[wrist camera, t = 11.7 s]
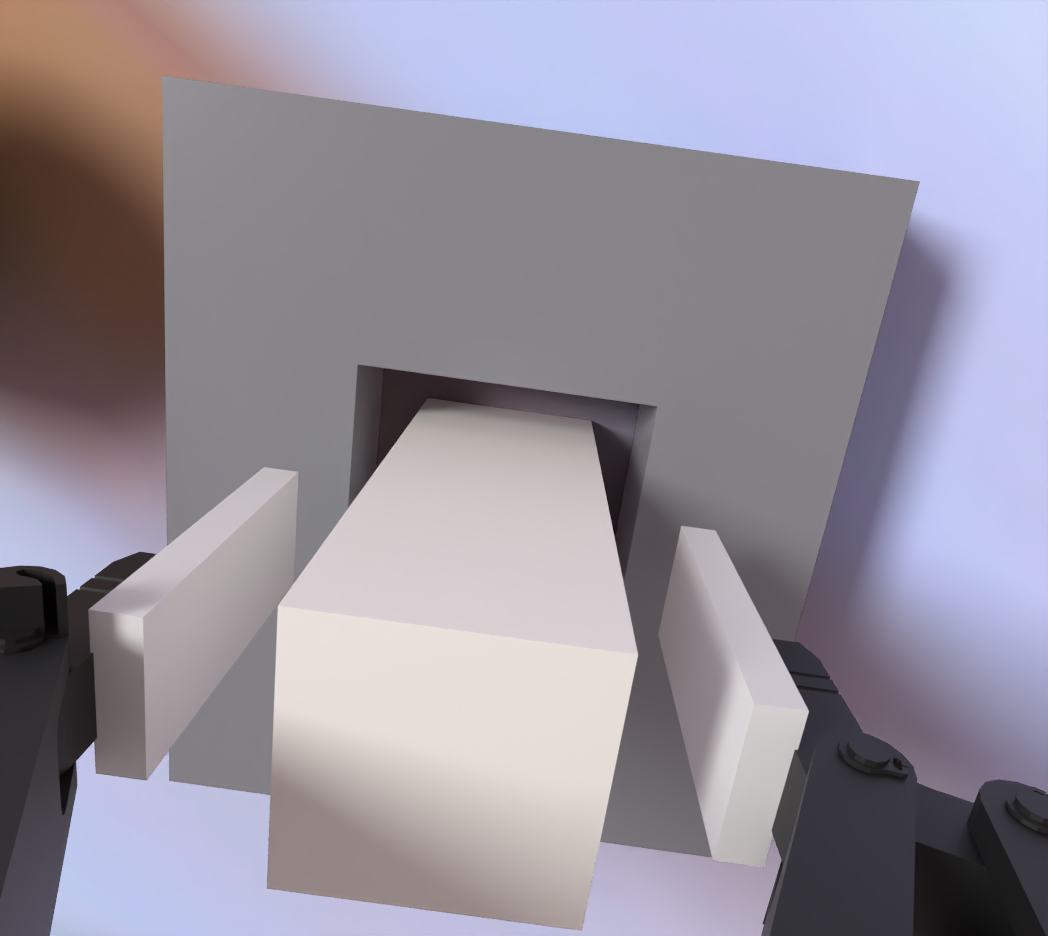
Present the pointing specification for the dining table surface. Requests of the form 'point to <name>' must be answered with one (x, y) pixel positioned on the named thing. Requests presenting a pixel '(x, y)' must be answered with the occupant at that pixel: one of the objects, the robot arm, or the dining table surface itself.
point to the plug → (456, 677)
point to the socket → (514, 351)
